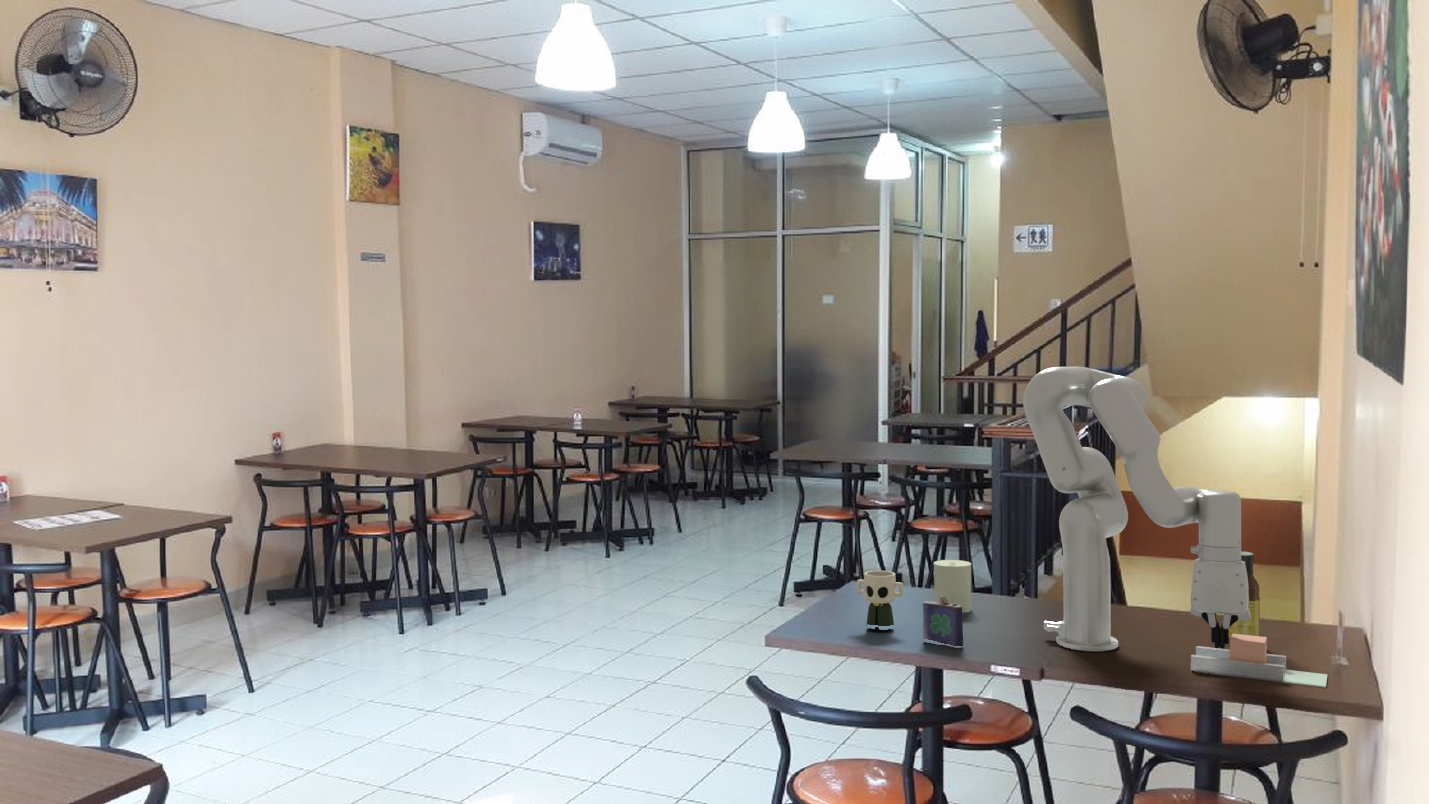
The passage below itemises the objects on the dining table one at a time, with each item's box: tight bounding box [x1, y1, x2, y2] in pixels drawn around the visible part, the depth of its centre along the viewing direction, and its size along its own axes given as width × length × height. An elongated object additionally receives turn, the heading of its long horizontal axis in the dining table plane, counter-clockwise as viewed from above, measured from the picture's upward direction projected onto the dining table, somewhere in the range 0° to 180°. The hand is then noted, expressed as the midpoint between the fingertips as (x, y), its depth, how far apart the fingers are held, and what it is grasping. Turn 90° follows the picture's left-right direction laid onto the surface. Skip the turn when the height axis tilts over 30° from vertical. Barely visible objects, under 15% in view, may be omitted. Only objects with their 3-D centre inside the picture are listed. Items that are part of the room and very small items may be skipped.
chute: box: [1190, 645, 1287, 684], centre depth 213 cm, size 16×9×3 cm, turn 59°
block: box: [1229, 634, 1268, 663], centre depth 212 cm, size 6×5×6 cm
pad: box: [1283, 669, 1328, 689], centre depth 207 cm, size 7×9×1 cm
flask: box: [922, 595, 964, 647], centre depth 236 cm, size 9×3×11 cm, turn 50°
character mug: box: [856, 570, 904, 626], centre depth 250 cm, size 11×7×13 cm, turn 65°
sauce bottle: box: [1228, 551, 1261, 645], centre depth 231 cm, size 6×6×20 cm
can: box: [933, 559, 973, 611], centre depth 269 cm, size 9×9×12 cm
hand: (1220, 646), depth 215 cm, fingers closed
